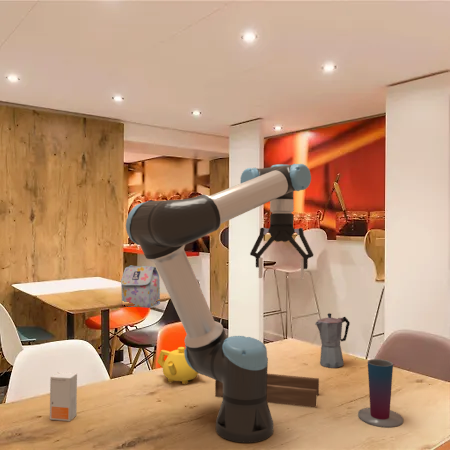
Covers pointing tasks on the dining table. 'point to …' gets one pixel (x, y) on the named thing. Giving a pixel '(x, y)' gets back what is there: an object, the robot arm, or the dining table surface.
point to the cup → (380, 387)
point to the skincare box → (63, 396)
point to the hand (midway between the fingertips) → (281, 278)
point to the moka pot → (331, 340)
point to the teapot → (176, 366)
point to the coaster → (392, 421)
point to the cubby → (286, 390)
